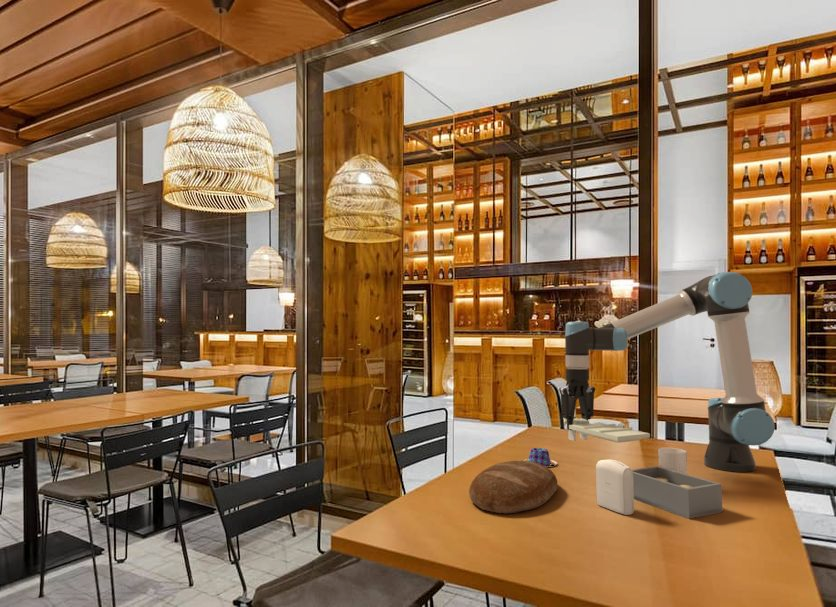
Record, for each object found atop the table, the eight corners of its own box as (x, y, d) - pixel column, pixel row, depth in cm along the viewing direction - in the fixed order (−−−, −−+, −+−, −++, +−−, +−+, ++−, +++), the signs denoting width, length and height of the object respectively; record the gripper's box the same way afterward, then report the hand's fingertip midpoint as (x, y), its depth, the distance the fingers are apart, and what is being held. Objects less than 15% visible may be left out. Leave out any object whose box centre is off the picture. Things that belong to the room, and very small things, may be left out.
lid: (586, 426, 182) (586, 417, 182) (649, 441, 158) (649, 430, 158) (556, 428, 177) (556, 419, 177) (617, 444, 153) (617, 433, 153)
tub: (657, 490, 154) (656, 466, 154) (722, 512, 136) (721, 483, 136) (626, 496, 149) (625, 470, 149) (689, 518, 131) (688, 489, 131)
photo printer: (594, 504, 141) (593, 457, 142) (606, 502, 143) (605, 455, 144) (624, 516, 132) (623, 465, 133) (637, 514, 134) (635, 464, 135)
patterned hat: (561, 463, 188) (561, 447, 188) (551, 470, 177) (551, 454, 178) (527, 459, 194) (527, 444, 194) (517, 466, 183) (516, 450, 183)
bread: (452, 509, 139) (452, 476, 140) (499, 475, 172) (499, 448, 172) (535, 522, 129) (535, 487, 129) (568, 484, 162) (568, 455, 162)
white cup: (691, 488, 156) (690, 453, 156) (662, 487, 157) (661, 452, 158) (683, 481, 164) (682, 448, 164) (656, 479, 165) (655, 447, 166)
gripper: (589, 366, 185) (589, 435, 184) (549, 367, 178) (549, 439, 177) (605, 368, 178) (605, 439, 177) (564, 369, 171) (564, 443, 170)
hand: (577, 439), depth 177 cm, fingers closed on lid, 4 cm apart
